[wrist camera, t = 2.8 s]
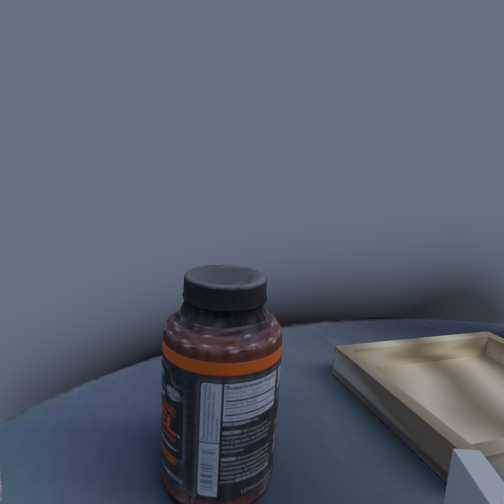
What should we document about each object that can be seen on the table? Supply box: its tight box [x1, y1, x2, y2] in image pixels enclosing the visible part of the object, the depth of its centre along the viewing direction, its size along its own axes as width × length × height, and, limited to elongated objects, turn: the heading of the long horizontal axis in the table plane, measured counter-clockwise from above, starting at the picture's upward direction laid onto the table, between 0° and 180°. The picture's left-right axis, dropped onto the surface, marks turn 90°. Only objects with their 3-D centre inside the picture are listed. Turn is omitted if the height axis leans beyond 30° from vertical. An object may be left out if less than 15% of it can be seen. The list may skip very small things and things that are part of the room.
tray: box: [332, 332, 504, 483], centre depth 31 cm, size 16×14×2 cm
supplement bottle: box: [160, 265, 282, 504], centre depth 22 cm, size 6×6×11 cm
